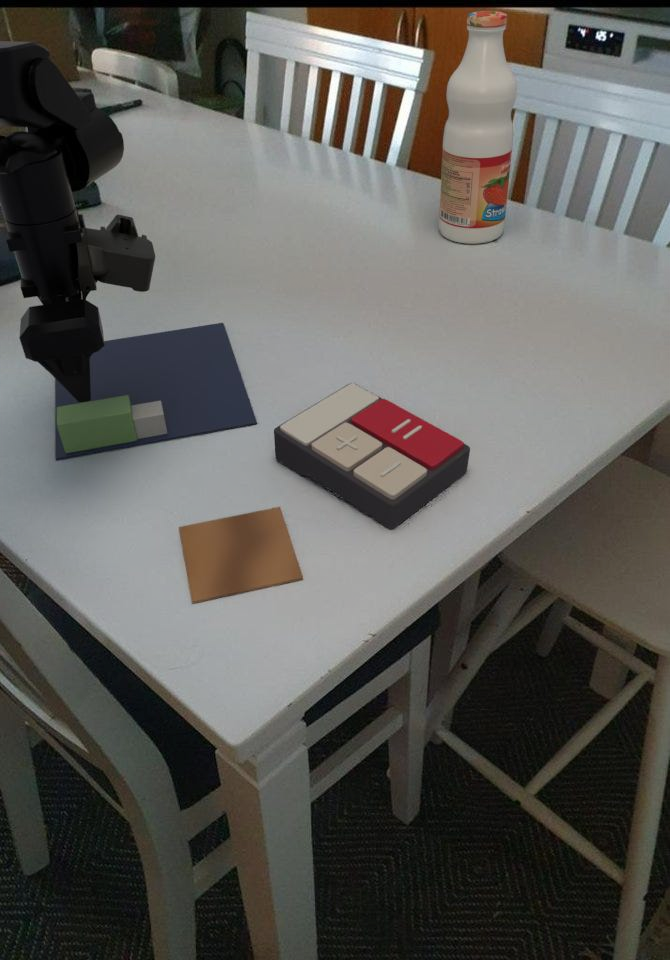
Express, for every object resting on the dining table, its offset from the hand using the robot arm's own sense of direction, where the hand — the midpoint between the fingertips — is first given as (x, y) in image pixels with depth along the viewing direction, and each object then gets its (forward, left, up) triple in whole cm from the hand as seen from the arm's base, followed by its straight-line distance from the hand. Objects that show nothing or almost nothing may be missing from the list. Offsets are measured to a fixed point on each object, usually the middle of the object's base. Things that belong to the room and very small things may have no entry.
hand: (83, 375), depth 76 cm
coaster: (+11, -20, -8) cm, 24 cm away
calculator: (+25, -12, -8) cm, 28 cm away
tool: (+2, 0, -8) cm, 8 cm away
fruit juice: (+55, +36, -8) cm, 66 cm away
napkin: (+6, +9, -8) cm, 13 cm away
